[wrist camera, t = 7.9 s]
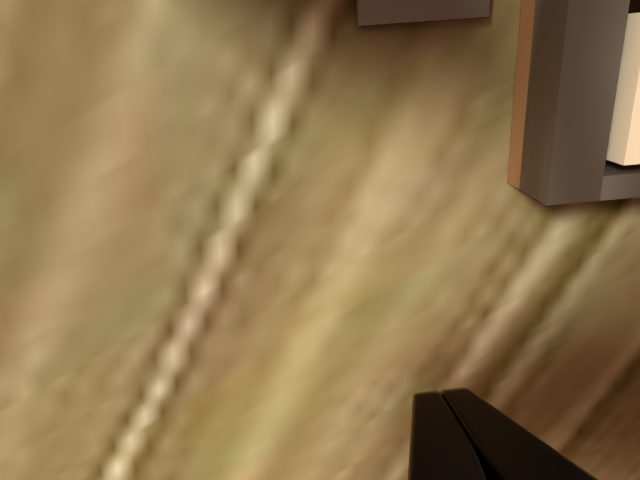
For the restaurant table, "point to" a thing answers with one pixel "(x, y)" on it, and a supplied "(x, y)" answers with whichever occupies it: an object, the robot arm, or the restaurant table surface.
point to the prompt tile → (418, 10)
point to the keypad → (569, 101)
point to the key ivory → (627, 100)
